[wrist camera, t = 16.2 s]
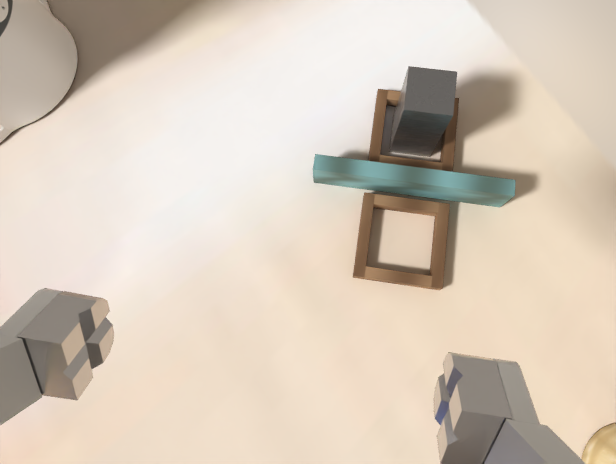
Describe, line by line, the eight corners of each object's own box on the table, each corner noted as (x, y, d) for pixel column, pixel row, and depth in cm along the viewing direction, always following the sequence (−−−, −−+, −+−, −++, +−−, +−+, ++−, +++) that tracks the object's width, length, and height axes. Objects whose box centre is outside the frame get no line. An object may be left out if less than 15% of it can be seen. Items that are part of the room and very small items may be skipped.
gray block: (389, 151, 45) (403, 109, 37) (393, 115, 46) (408, 66, 38) (429, 156, 45) (453, 115, 37) (433, 120, 46) (457, 71, 38)
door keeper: (299, 269, 43) (297, 263, 40) (328, 89, 47) (328, 70, 44) (494, 298, 42) (509, 294, 38) (505, 110, 46) (520, 92, 43)
